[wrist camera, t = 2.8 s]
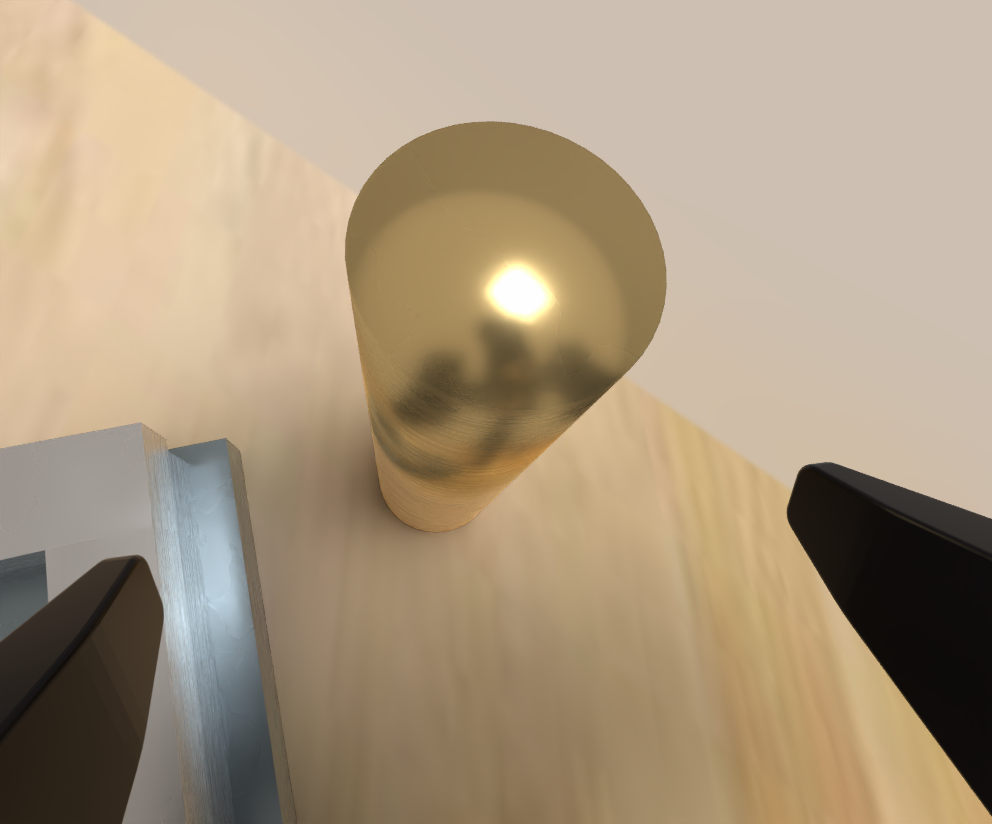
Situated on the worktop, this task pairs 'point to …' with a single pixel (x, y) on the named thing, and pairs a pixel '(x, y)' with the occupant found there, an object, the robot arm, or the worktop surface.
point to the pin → (492, 307)
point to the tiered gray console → (186, 601)
